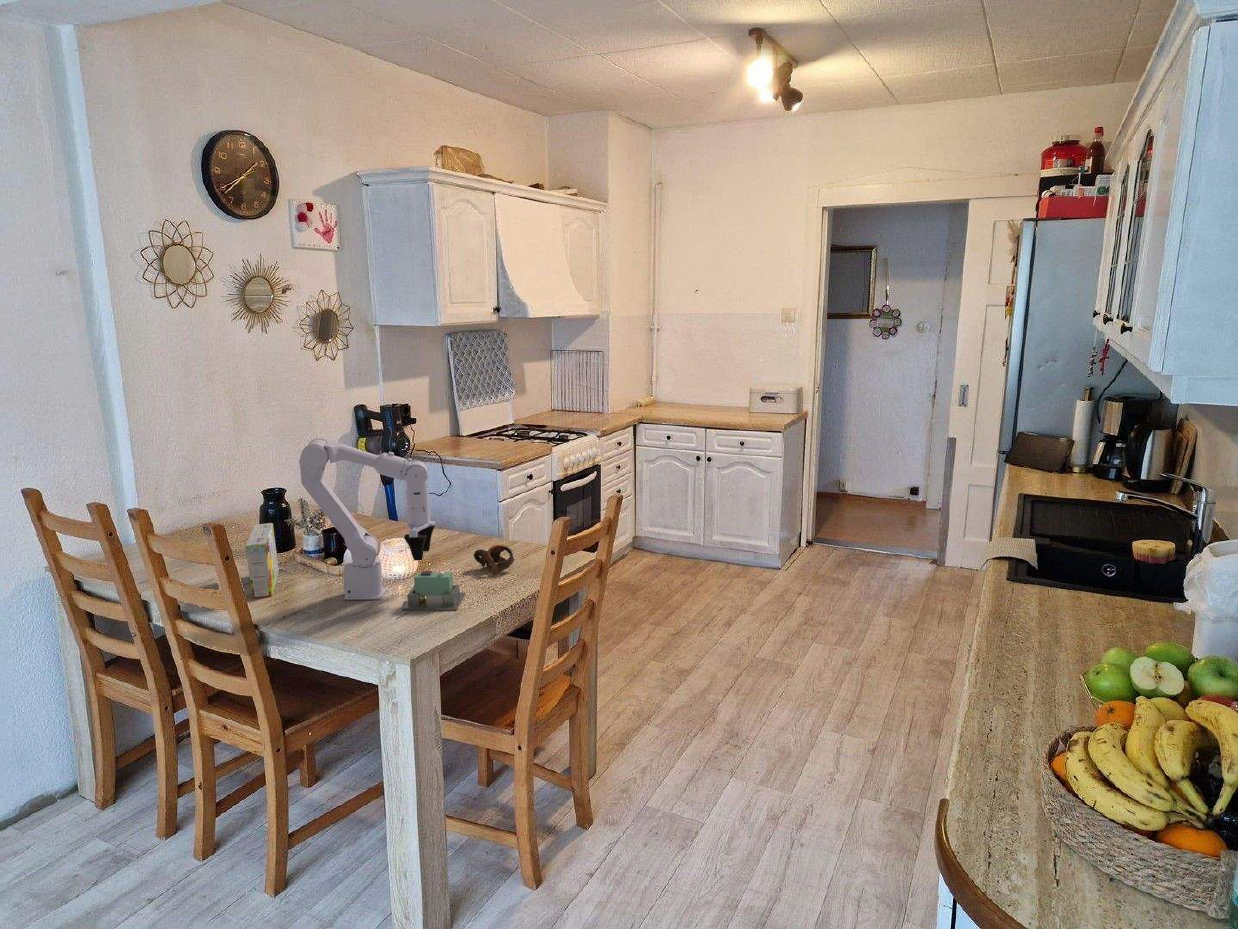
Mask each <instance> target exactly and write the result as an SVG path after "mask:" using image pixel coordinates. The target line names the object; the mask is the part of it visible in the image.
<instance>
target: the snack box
mask: <svg viewBox="0 0 1238 929" xmlns="http://www.w3.org/2000/svg"><path fill="white" fill-rule="evenodd" d="M274 530H275V529H274V523H272V522H267V523H261V524H260V523H258V524H254V525H253V528H252V530H251V532H250V535H249V536H248V539H247V541H246V544H245V552H246V553H245V554H246V561H247V567H248V574H249V582H250V583H249V584H250V589H251V598H252V599H258V598H266V597H272V596H273V594H274V590H275V586H276V583H277V579H278V576H279V573H280V568H279V567H280V566H279V562H278V561H279V560H278V553H277V547H276V539H275V538H276V537H275V531H274Z"/></svg>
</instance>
